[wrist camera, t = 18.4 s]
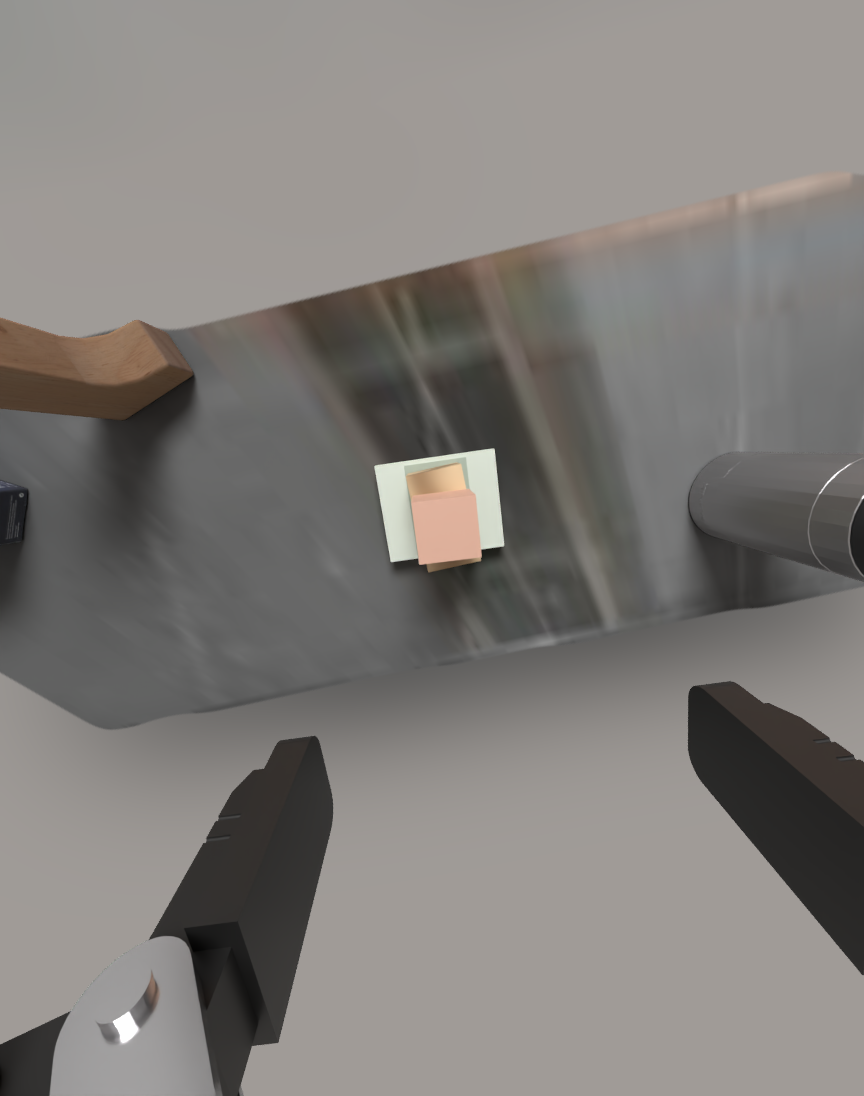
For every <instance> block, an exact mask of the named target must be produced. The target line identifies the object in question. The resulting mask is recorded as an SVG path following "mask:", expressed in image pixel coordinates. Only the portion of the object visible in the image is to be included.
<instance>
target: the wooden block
mask: <svg viewBox="0 0 864 1096" xmlns="http://www.w3.org/2000/svg"><path fill="white" fill-rule="evenodd" d="M192 375H193V371H192V369H191V368H190V366H189V365H188V363H187V362H186V360H185V359H184V357H183V356H182V354H181V353H180V351H179V350H178V348H177V347H176V345H175V344H174V342H173V341H172V339H171V338H170V336H169V335H168V334H167V333H166V332H164V331H162V330H160V329H158V328H155V327H153V326H151V325H149V324H147V323H144V322H142V321H140V320H134V321H132V322H130V323H128V324H126V325H125V326H123V327H121V328H119V329H117V330H115V331H113V332H111V333H109V334H106V335H100V336H95V337H89V338H83V339H82V338H73V337H65V336H58V335H54V334H51V333H48V332H45V331H41V330H39V329H35V328H32V327H29V326H26V325H22V324H19V323H16V322H13V321H10V320H6V319H3V318H0V409H10V410H20V411H30V412H41V413H51V414H62V415H72V416H83V417H93V418H103V419H114V420H126V419H127V418H129V417H130V416H132V415H133V414H135V413H136V412H138V411H139V410H141V409H142V408H144V407H145V406H147V405H149V404H150V403H152V402H153V401H155V400H156V399H158V398H159V397H161V396H162V395H164V394H165V393H167V392H168V391H170V390H171V389H173V388H174V387H176V386H178V385H179V384H181V383H182V382H184V381H185V380H187V379H188V378H190V377H191V376H192Z"/></svg>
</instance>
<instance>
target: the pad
mask: <svg viewBox="0 0 864 1096" xmlns="http://www.w3.org/2000/svg"><path fill="white" fill-rule="evenodd" d="M456 462H458V463H460V464H461V465H462V470H463V475H464V480H465V485H466V489H470V490H471V491H472V492H473V493H474V494H476V503H477V513H478V524H479V534H480V544H481V549H488V548H495V547H502V546H504V538H503V528H502V518H501V509H500V499H499V489H498V479H497V469H496V460H495V450H494V449H486V450H479V451H472V452H465V453H458V454H452V455H445V456H438V457H431V458H424V459H417V460H410V461H403V462H396V463H389V464H382V465H376V466H375V472H376V478H377V484H378V490H379V496H380V502H381V507H382V513H383V519H384V525H385V531H386V537H387V543H388V548H389V554H390V560H391V562H396V561H403V560H410V559H417V558H418V550H417V543H416V536H415V528H414V521H413V513H412V506H411V498H410V494H409V489H408V485H407V481H406V475H407V474H408V473H412V472H417V471H421V470H425V469H430V468H434V467H438V466H443V465H447V464H451V463H456ZM418 561H419V558H418Z"/></svg>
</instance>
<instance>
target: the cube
mask: <svg viewBox="0 0 864 1096" xmlns="http://www.w3.org/2000/svg"><path fill="white" fill-rule="evenodd" d="M411 506H412V513H413V521H414V528H415V536H416V543H417V550H418V558H419V565H422V564H430V563H438V562H447V561H455V560H463V559H471V558H479V557H482V554H481V544H480V534H479V524H478V513H477V503H476V494H474V493H473V492H472V491H471V490H470V489H462V490H454V491H446V492H438V493H430V494H422V495H414V496H413V497H412V501H411Z"/></svg>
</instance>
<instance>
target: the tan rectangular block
mask: <svg viewBox="0 0 864 1096" xmlns="http://www.w3.org/2000/svg"><path fill="white" fill-rule="evenodd" d="M406 481H407V485H408V489H409V494H410V498H411V501H412V497H413V496H414V495H422V494H430V493H438V492H446V491H454V490H462V489H466V485H465V480H464V475H463V470H462V465H461V464H460V463H458V462H456V463H451V464H447V465H443V466H438V467H434V468H430V469H425V470H421V471H417V472H412V473H408V474H407V475H406ZM478 561H481V558H480V557H479V558H471V559H463V560H455V561H447V562H438V563H430V564H426V565H427V569H428V573H429V572H433V571H438V570H442V569H447V568H451V567H456V566H460V565H465V564H469V563H474V562H478Z"/></svg>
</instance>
